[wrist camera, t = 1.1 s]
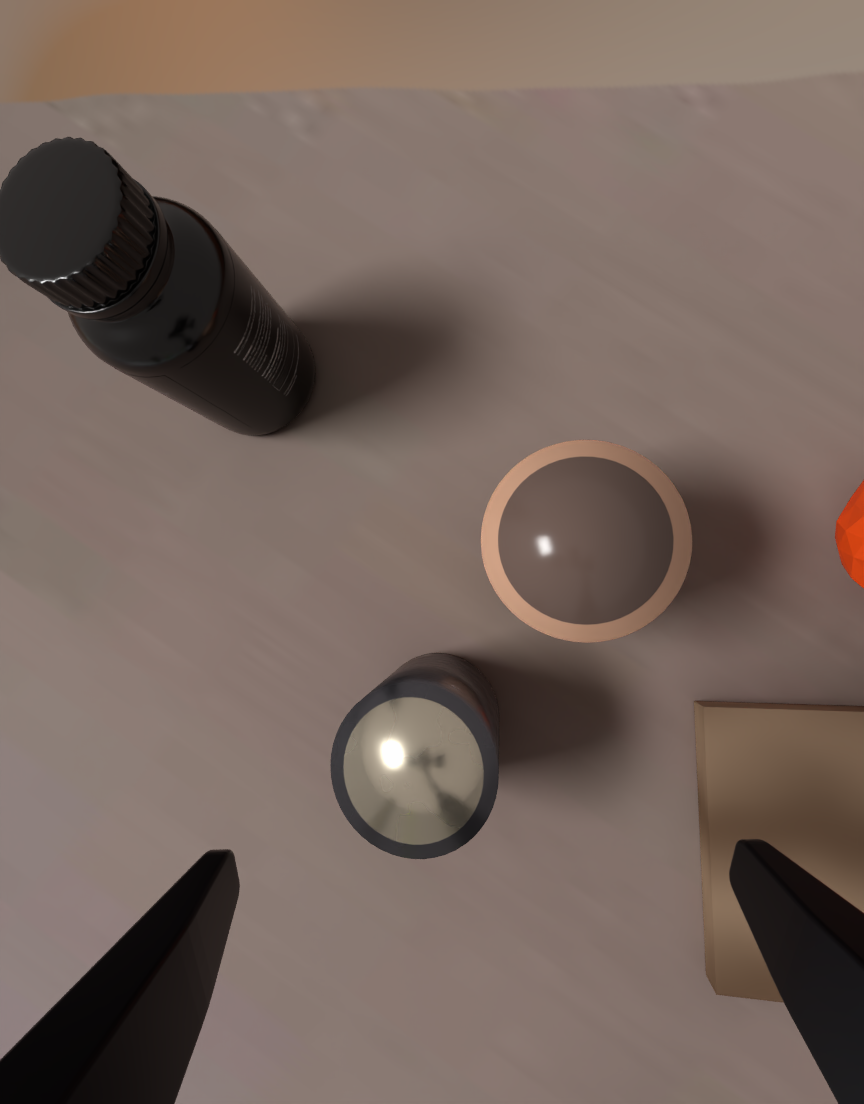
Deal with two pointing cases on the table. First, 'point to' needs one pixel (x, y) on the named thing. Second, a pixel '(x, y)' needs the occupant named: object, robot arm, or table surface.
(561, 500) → the terracotta cup
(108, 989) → the robot arm
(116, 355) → the supplement bottle
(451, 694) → the black metal can
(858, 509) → the pumpkin
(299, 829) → the table surface
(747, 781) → the walnut board
